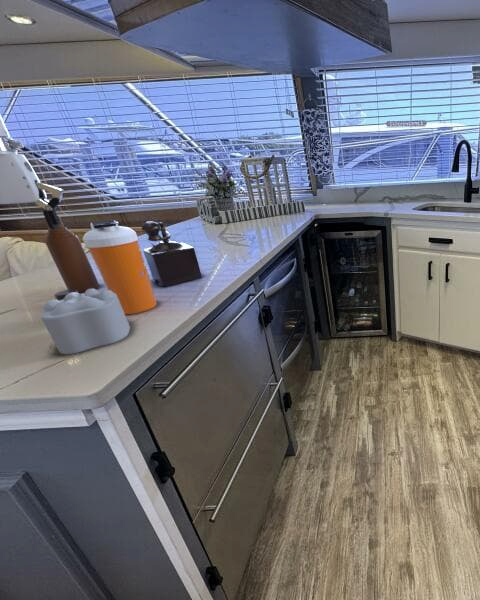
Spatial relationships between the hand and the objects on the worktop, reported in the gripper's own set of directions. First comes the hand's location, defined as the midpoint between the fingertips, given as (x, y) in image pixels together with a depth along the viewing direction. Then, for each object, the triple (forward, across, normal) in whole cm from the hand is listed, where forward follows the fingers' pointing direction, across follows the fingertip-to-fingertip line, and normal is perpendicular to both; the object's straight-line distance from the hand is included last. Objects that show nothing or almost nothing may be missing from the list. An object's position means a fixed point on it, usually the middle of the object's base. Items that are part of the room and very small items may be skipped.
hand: (26, 230), depth 73 cm
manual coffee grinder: (+18, -25, -3) cm, 31 cm away
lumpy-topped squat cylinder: (+18, -13, +27) cm, 35 cm away
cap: (+18, -2, +1) cm, 19 cm away
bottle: (+18, -2, -11) cm, 21 cm away
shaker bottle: (+18, -18, +15) cm, 30 cm away
